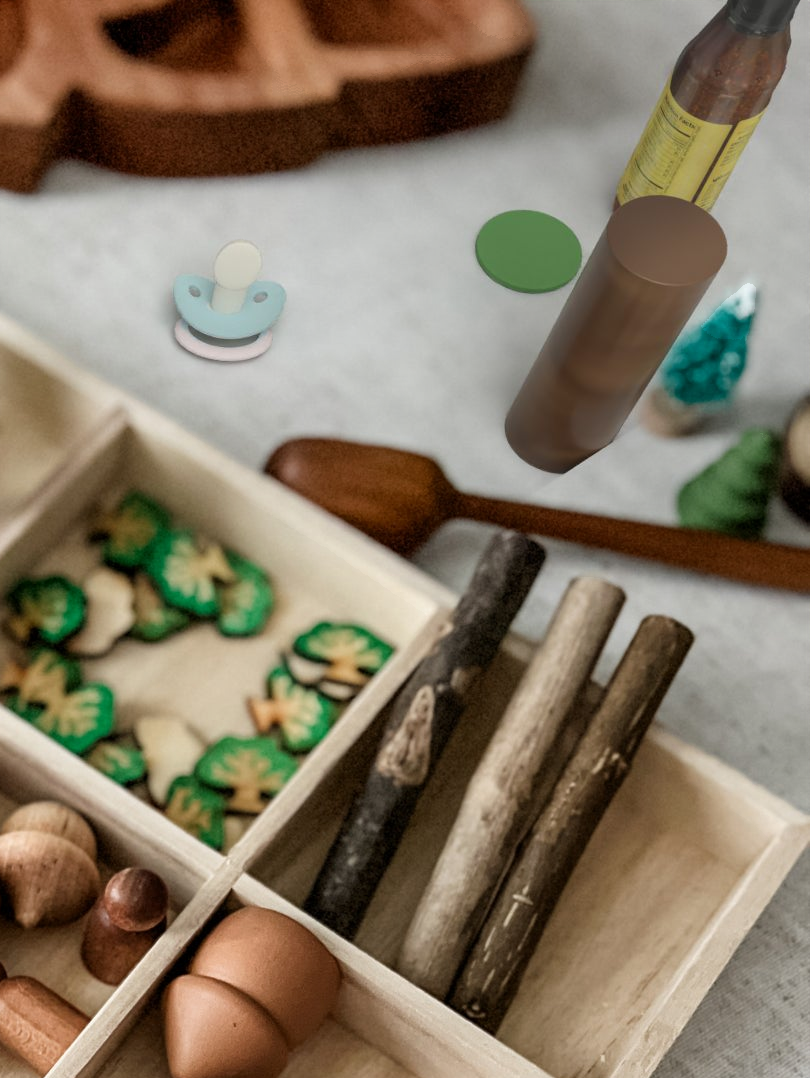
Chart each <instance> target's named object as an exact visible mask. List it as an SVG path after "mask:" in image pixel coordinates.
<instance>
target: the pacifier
mask: <svg viewBox="0 0 810 1078" xmlns="http://www.w3.org/2000/svg"><path fill="white" fill-rule="evenodd" d="M262 259H263V257H262V254H261V252H260V250H259V248H258V247H257V245H255V244H254V243H253V242H252V241H249V240H247V239H234V240H231V241H229V242H228V243H226V244H225V245H223V247H221V249H220V250H219V251H218V252H217V254H216V257H215V259H214V262H213V268H212V269H213V271H212V272H213V277H214V280H215V282H214V281H212V280H210V279H208V278H206V277H204V276H200V275H198V274H192V273H185V274H181V275H179V276H177V277H176V279H175V281H174V283H173V287H172V295H173V300H174V303H175V307H176V308H177V310H178V312H179V314H180V316H181V317H180V319H179V320H178V321H176V323H175V325H174V328H173V331H174V332H173V333H174V336H175V339H176V340H177V342H178V343H179V344H180V346H182V347H183V348H184V349H186V350H187V351H188V352H190V353H192V354H194V355H196V356H198V357H201V358H204V359H208V360H215V361H220V362H239V361H245V360H250V359H253V358H257V357H258V356H260V355H261V354H264V353H265V352H266V351H267V350H268V349H269V348H270V347H271V345H272V342H273V334H272V331H271V329H270V328H269V327H271V326H272V325H274V323H275V322H276V321H277V320H278V318H279V317H280V316H281V314H282V312H283V311H284V309H285V305H286V301H287V291H286V289H285V287H284V286H283V285H281V284H280V283H278V282H276V281H270V280H257V279H259V278H258V277H259V276H260V274H261V271H262V266H263V260H262ZM190 289H193V290H195V291H196V292H197V293H198V295H199V296H193V294H191V292H190ZM258 296H264V297H266V298H265V299H264V300H263V301H259V302H256V301H255V300H254V299H255V298H256V297H258ZM190 327H192V328H194V329H195V330H196V331H198V332H200V333H202V334H204V335H206V336H209V337H213V338H215V339H216V338H217V339H224V340H239V339H245V338H249V337H251V336H255V335H257V339H256V340H254V341H253V342H251V343H249V344H246V345H242V346H235V347H221V346H217V345H212V344H209V343H206V342H204V341H202V340H201V339H198V338H197V337H195V336H194V335H193V334H192V333H191V331H190V329H189V328H190Z"/></svg>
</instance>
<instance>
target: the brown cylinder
mask: <svg viewBox="0 0 810 1078" xmlns="http://www.w3.org/2000/svg"><path fill="white" fill-rule="evenodd" d="M727 255H728V239H727V237H726V234H725V231H724V230H723V228H722V226H721V225H720V223H719V222H718V221H717V220H716V219H715V217H713V216H712V215H711V214H710V212H709V213H708V212H707V211H705V210H704V209H702V208H701V207H699V206H697V205H696V204H693V203H691V202H689V201H686V200H684V199H681V198H677V197H672V196H666V195H649V196H643V197H639V198H635V199H633V200H630V201H628V202H626V203H624V204H623V205H622V206H620V207H619V208H618V209H617V210H616V211H615V212H612V215H610V217H609V219H608V221H607V222H606V225H605V226H604V229H603V231H602V232H601V234H600V236H599V238H598V240H597V242H596V244H595V245H594V248H593V250H592V252H591V253H590V255H589V257H588V259H587V261H586V263H585V265H584V267H583V268H582V271H581V273H580V275H579V276H578V278H577V280H576V282H575V284H574V286H573V288H572V289H571V292H570V293H569V296H568V297H567V298H566V299H567V300H566V301H565V303H564V305H563V307H562V309H561V311H560V312H559V314H558V316H557V318H556V320H555V322H554V324H553V326H552V328H551V330H550V331H549V334H548V335H547V337H546V339H545V341H544V343H543V344H542V347H541V348H540V351H539V352H538V354H537V356H536V358H535V360H534V362H533V364H532V366H531V367H530V369H529V371H528V374H527V375H526V377H525V379H524V380H523V383H522V385H521V387H520V389H519V391H518V393H517V395H516V397H515V398H514V400H513V402H512V404H511V406H510V408H509V410H508V412H507V414H506V417H505V420H504V421H505V422H504V431H505V436H506V438H507V441H508V443H509V445H510V447H511V448H512V450H513V452H515V453H516V455H518V457H519V458H521V459H522V460H523V461H525V463H528V464H529V465H531V466H532V467H534V468H537V469H540V470H542V471H544V472H548V473H554V474H567V473H568V472H570V471H571V470H573V469H574V468H576V467H577V466H579V465H581V464H582V463H584V462H585V461H586V460H589V459H590V458H592V456H594V455H596V454H597V453H599V452H601V451H602V450H604V449H605V448H606V447H607V446H609V445H611V444H612V443H613V442H614V440H615V439H616V437H617V436H618V434H619V432H620V431H621V429H622V427H623V426H624V424H625V422H626V421H627V420H628V418H629V417H630V415H631V413H632V412H633V410H634V408H635V407H636V406H637V404H638V402H639V400H640V399H641V397H642V396H643V393H644V392H645V391H646V389H647V387H648V386H649V384H650V383H651V381H652V380H653V378H654V376H655V375H656V373H657V371H658V370H659V368H660V367H661V365H662V364H663V362H664V360H665V359H666V357H667V355H668V354H669V352H670V350H671V349H672V347H673V346H674V344H675V343H676V341H677V339H678V338H679V336H680V334H681V333H682V332H683V329H684V328H685V326H686V325H687V323H688V322H689V320H690V319H691V317H692V315H693V313H694V312H695V311H696V309H697V307H698V305H699V304H700V303H701V301H702V299H703V298H704V296H705V294H706V293H707V291H708V290H709V288H710V287H711V285H712V283H713V281H714V280H715V279H716V277H717V275H718V273H719V272H720V270H721V269H722V267H723V266H724V264H725V261H726V259H727Z"/></svg>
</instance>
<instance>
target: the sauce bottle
mask: <svg viewBox="0 0 810 1078" xmlns="http://www.w3.org/2000/svg"><path fill="white" fill-rule="evenodd" d="M800 1H801V0H727V1H726V2H725V4H724V5H723V6H722V7H721V9H720V10H718V11H717V13H716V14H715V15H714V16H713V17H712V18H711V19H710V21H709V22H708V23H707V24H706V25H705V26H704V27H703V28H702V29H701V30H700V31H699V32H698V33H697V34H696V35H695V36H694V37H693V38H692V39H691V40H690V41H689V42H688V43H687V44H686V45H685V46H684V48H683V49H682V51H681V53H680V54H679V56H678V57H677V60H676V61H675V64H674V66H673V68H672V70H671V72H670V74H669V76H668V79H667V81H666V82H665V85H664V87H663V89H662V92H661V94H660V95H659V98H658V100H657V102H656V104H655V106H654V109H653V110H652V113H651V114H650V116H649V118H648V121H647V123H646V125H645V127H644V129H643V131H642V134H641V135H640V137H639V139H638V141H637V144H636V146H635V148H634V149H633V152H632V153H631V156H630V158H629V160H628V162H627V164H626V167H625V168H624V170H623V172H622V175H621V177H620V179H619V181H618V184H617V189H616V190H617V191H616V194H615V197H614V200H613V208H612V213H614V212H615V211H616V210H617V209H618V208H619V207H620V206H622V205H623V204H624V203H626V202H628V201H630V200H633V199H635V198H639V197H643V196H649V195H666V196H672V197H677V198H681V199H684V200H686V201H689V202H691V203H693V204H696V205H697V206H699V207H701V208H702V209H704V210H705V211H707V212H708V213H709V214H710V212H711V211H712V209H713V207H714V206H715V203H716V202H717V200H718V198H719V196H720V195H721V193H722V191H723V189H724V187H725V185H726V183H727V182H728V180H729V178H730V176H731V175H732V173H733V171H734V169H735V167H736V165H737V163H738V162H739V159H740V158H741V156H742V154H743V152H744V150H745V149H746V147H747V145H748V143H749V141H750V139H751V137H752V136H753V135H754V132H755V131H756V128H757V127H758V125H759V123H760V121H761V120H762V118H763V116H764V114H765V112H766V110H767V108H768V107H769V105H770V102H771V100H772V97H773V93H774V91H775V90H776V88H777V86H778V85H779V83H780V81H781V80H782V79H783V75H784V73H785V72H786V69H787V63H788V54H789V52H790V49H791V45H792V35H791V22H792V20H793V19H794V17H795V13H796V9H797V8H798V6H799V5H800Z"/></svg>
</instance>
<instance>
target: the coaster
mask: <svg viewBox="0 0 810 1078" xmlns="http://www.w3.org/2000/svg"><path fill="white" fill-rule="evenodd" d="M474 250H475V256H476V259H477V262H478V264H479V266H480V267H481V268H482V270H483V271H484V272H485V273H486V274H487V276H488V277H490V278H491V279H492V280H493V281H494V282H496V283H497V284H499V285H501V286H503V287H505V288H507V289H510V290H512V291H516V292H520V293H526V294H543V293H549V292H553V291H557V290H558V289H561V288H562V287H564V286H566V285H567V284H569V283H570V282H571V281H572V280H573V279H574V278H575V276H576V275H577V273H578V272H579V269H580V268H581V265H582V261H583V250H582V245H581V242H580V241H579V238H578V237H577V235H576V234H575V233H574V231H573V230H572V229H571V228H570V227H569V226H568V225H567V224H566V223H564V222H563V221H561V220H559V219H558V218H556V217H554V216H553V215H550V214H547V213H544V212H541V211H537V210H531V209H530V210H529V209H515V210H514V209H513V210H509V211H504V212H501V213H499V214H496V215H495V216H493V217H492V218H490V219H488V221H486V222H485V223H484V225H483V226H482V227H481V229H480V230H479V233H478V234H477V236H476V240H475V248H474Z"/></svg>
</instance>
